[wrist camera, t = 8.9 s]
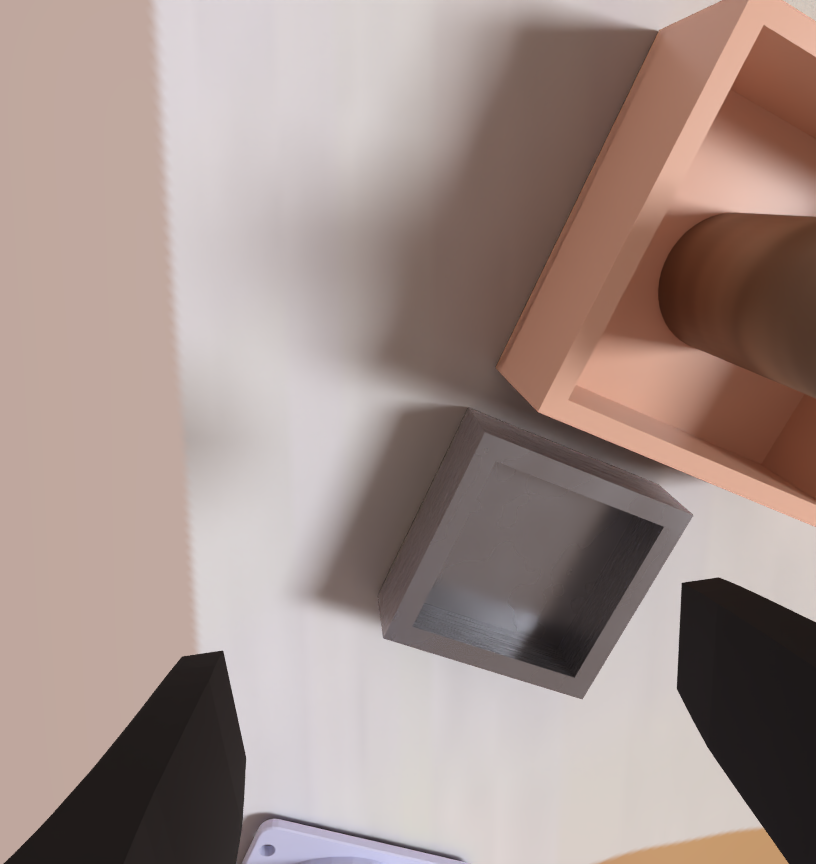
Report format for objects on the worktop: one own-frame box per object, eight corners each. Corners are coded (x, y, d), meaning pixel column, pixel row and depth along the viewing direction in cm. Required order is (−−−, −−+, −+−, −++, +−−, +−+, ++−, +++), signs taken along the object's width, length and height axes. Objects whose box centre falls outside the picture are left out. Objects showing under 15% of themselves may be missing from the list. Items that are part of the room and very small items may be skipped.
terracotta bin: (755, 478, 21) (849, 540, 17) (495, 367, 19) (537, 411, 15) (933, 192, 19) (1085, 192, 15) (659, 29, 17) (756, -16, 13)
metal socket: (559, 654, 22) (582, 699, 20) (377, 595, 21) (383, 638, 19) (658, 484, 21) (693, 515, 19) (468, 407, 19) (485, 432, 17)
